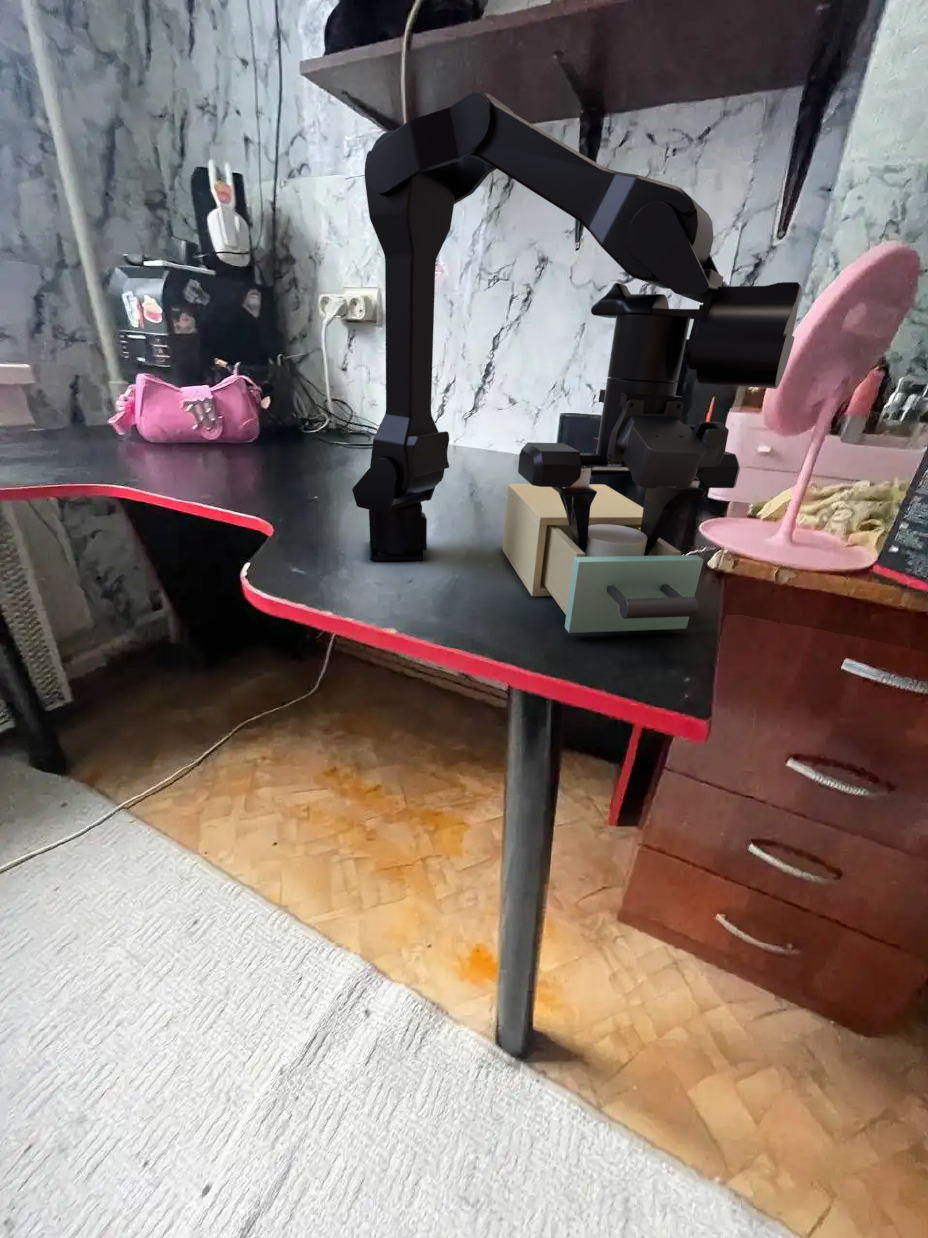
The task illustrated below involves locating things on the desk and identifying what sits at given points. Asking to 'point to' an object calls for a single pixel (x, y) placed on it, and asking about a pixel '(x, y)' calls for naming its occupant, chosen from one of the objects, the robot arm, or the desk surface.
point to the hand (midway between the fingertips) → (611, 556)
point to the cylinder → (614, 541)
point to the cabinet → (544, 507)
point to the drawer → (620, 586)
